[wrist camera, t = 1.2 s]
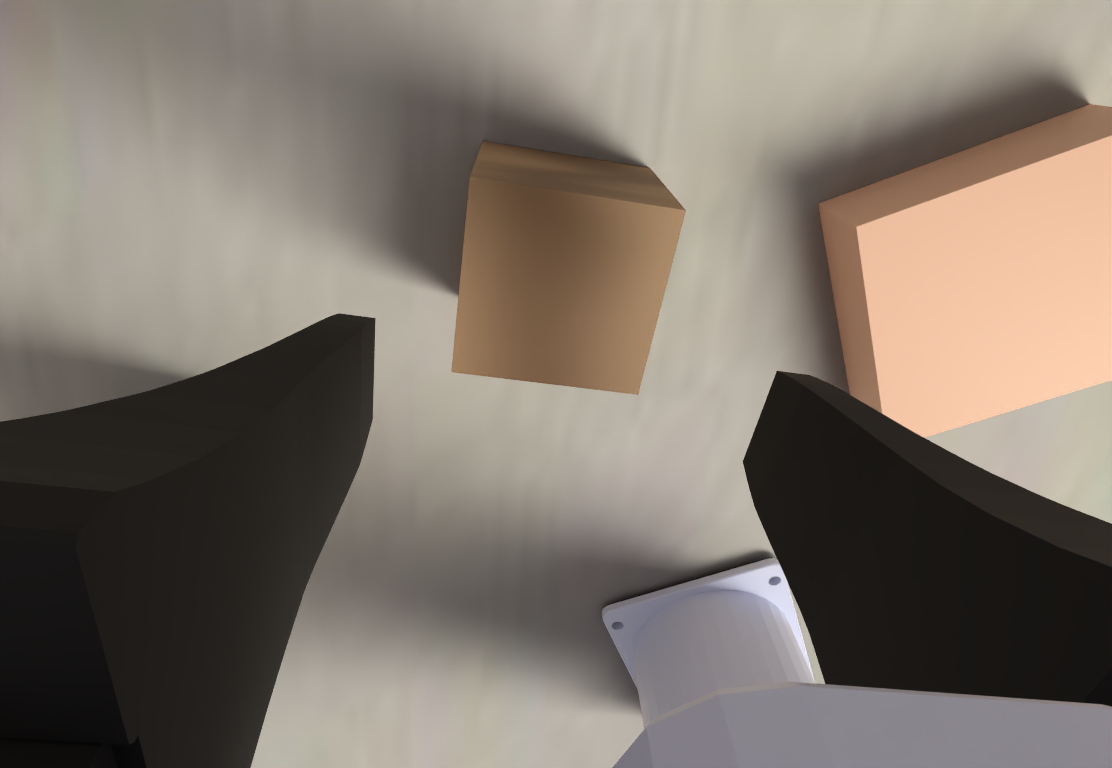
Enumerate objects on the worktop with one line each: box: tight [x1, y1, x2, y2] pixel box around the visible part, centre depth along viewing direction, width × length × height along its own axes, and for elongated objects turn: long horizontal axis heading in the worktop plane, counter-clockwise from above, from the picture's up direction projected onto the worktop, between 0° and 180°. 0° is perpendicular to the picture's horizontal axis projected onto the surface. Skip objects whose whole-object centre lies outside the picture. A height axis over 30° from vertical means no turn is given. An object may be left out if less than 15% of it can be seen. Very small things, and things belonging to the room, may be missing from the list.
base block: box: [818, 104, 1112, 438], centre depth 20 cm, size 8×8×3 cm
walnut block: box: [452, 141, 686, 395], centre depth 18 cm, size 5×5×5 cm
